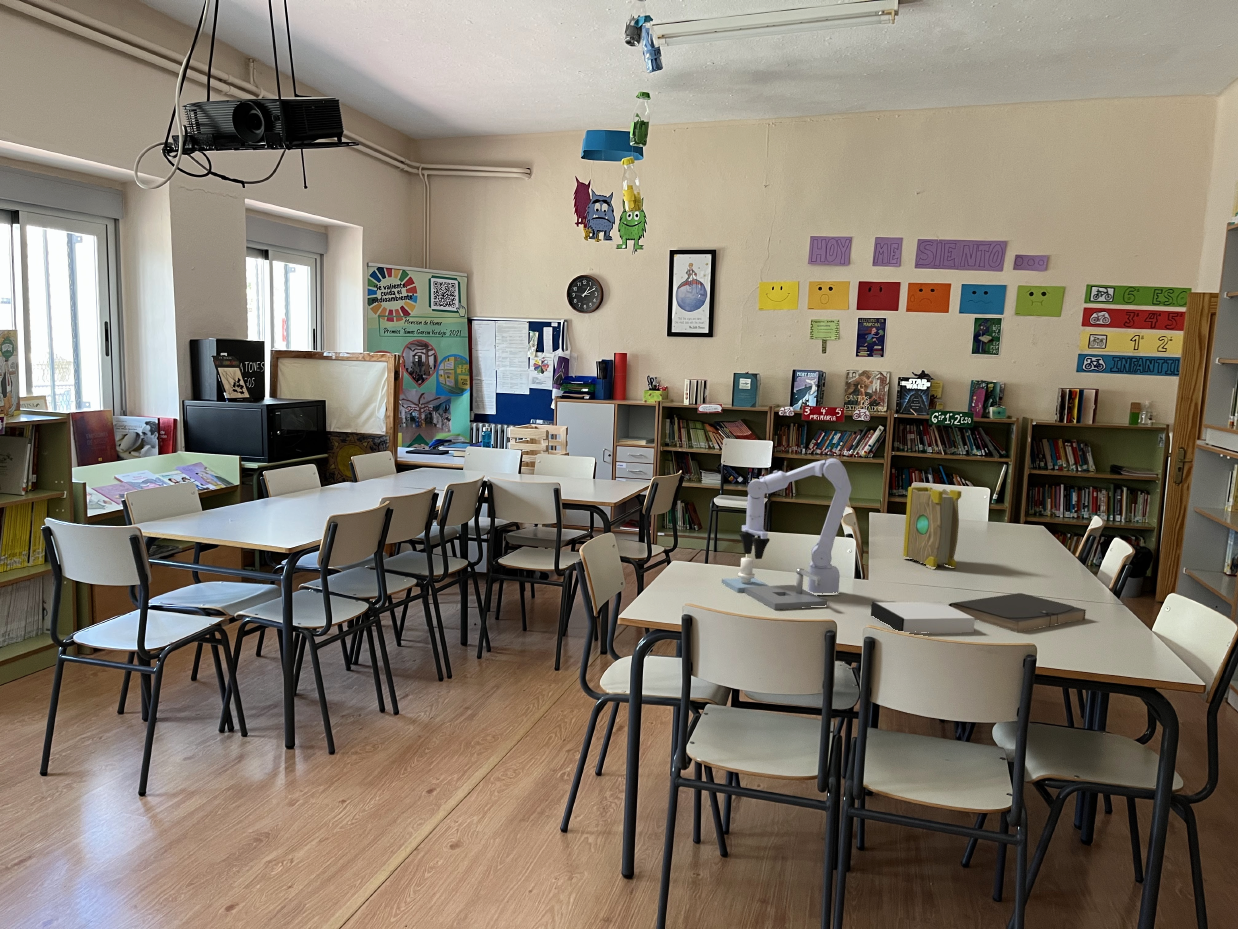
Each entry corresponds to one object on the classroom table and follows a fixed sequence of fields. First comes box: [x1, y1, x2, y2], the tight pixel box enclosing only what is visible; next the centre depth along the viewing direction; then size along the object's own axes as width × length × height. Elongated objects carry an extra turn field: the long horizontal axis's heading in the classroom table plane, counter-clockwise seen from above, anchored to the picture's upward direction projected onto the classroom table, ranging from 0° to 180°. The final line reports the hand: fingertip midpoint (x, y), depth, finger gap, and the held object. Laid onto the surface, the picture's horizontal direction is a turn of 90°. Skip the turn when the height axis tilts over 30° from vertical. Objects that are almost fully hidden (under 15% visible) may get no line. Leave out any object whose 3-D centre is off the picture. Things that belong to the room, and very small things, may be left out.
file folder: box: [947, 592, 1087, 632], centre depth 257 cm, size 33×4×24 cm
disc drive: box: [870, 601, 976, 635], centre depth 243 cm, size 18×22×5 cm
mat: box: [721, 577, 770, 593], centre depth 278 cm, size 12×12×2 cm
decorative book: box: [902, 486, 962, 568], centre depth 325 cm, size 20×11×30 cm, turn 18°
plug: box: [737, 557, 755, 584], centre depth 278 cm, size 5×5×8 cm
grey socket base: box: [743, 573, 828, 611], centre depth 263 cm, size 18×20×8 cm
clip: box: [795, 567, 821, 586], centre depth 260 cm, size 12×2×3 cm, turn 19°
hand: (753, 556), depth 278 cm, fingers open, 7 cm apart
